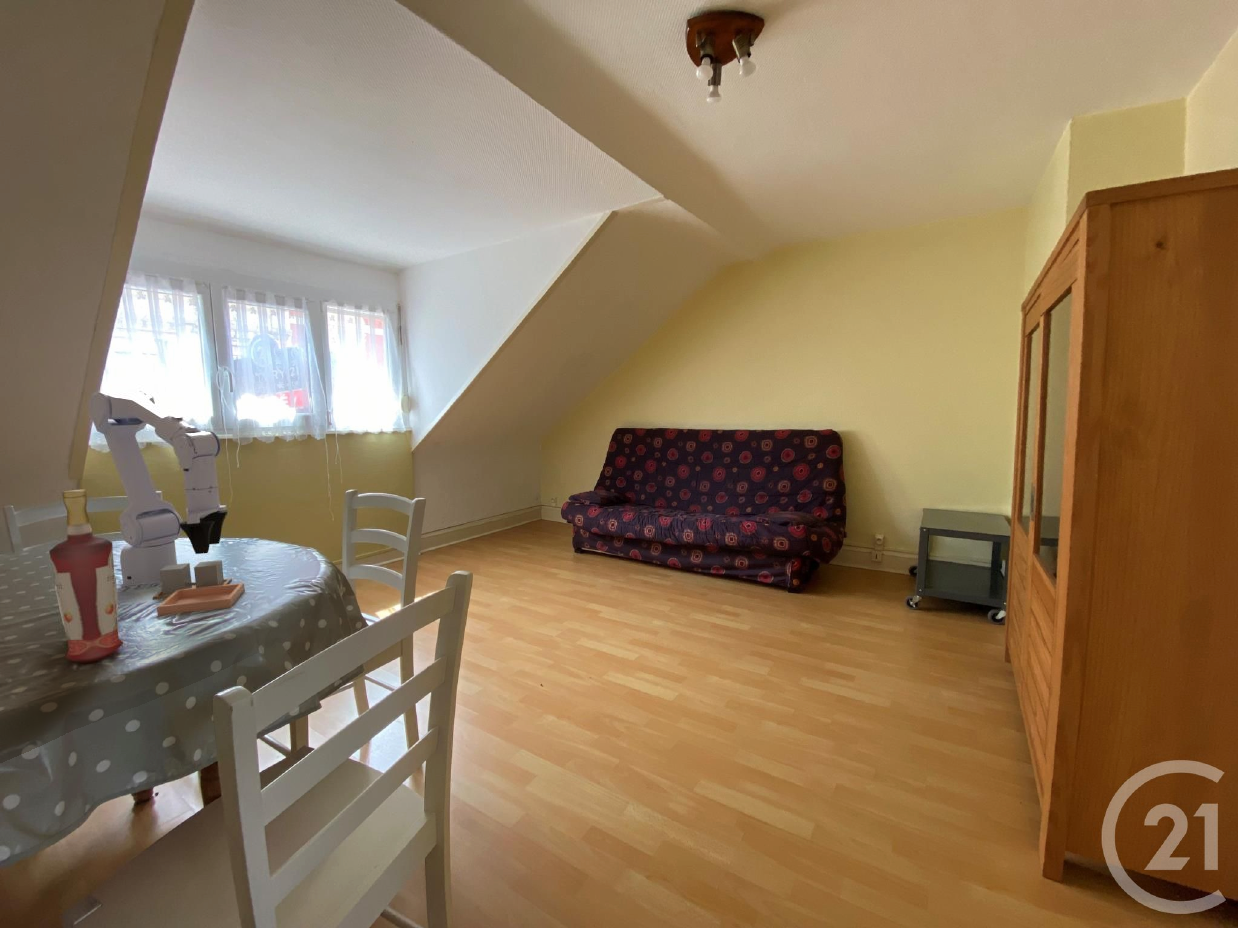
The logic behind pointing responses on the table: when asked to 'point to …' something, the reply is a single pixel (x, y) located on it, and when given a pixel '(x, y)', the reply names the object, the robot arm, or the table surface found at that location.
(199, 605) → the terracotta dish
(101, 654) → the liquor
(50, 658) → the table surface
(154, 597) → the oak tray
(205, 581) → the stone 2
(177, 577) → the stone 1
